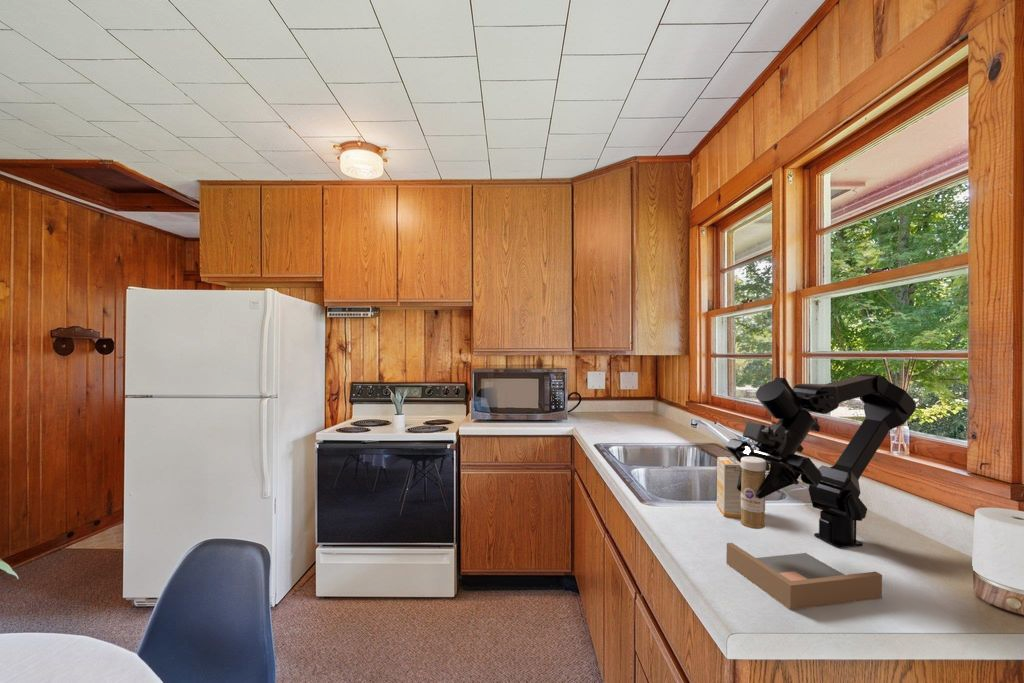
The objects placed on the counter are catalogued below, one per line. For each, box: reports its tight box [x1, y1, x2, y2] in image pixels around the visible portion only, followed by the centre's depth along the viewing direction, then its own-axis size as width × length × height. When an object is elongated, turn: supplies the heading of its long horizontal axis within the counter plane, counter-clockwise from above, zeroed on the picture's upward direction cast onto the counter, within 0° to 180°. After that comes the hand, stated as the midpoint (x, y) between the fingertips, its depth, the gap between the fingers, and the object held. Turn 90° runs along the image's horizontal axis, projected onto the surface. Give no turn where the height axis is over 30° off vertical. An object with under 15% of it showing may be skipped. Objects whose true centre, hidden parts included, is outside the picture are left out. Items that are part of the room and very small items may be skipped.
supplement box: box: [716, 456, 741, 519], centre depth 122 cm, size 8×5×13 cm, turn 168°
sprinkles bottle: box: [740, 457, 767, 530], centre depth 96 cm, size 5×5×13 cm
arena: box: [726, 542, 883, 611], centre depth 88 cm, size 18×16×4 cm
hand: (747, 493), depth 95 cm, fingers closed on sprinkles bottle, 4 cm apart
